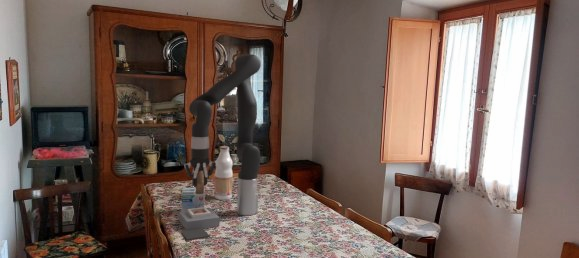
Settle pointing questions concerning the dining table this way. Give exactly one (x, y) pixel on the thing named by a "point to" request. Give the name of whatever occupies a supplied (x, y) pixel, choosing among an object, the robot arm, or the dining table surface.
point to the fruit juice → (223, 175)
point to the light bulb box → (192, 199)
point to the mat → (195, 234)
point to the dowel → (200, 182)
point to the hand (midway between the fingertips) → (199, 185)
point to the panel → (198, 218)
